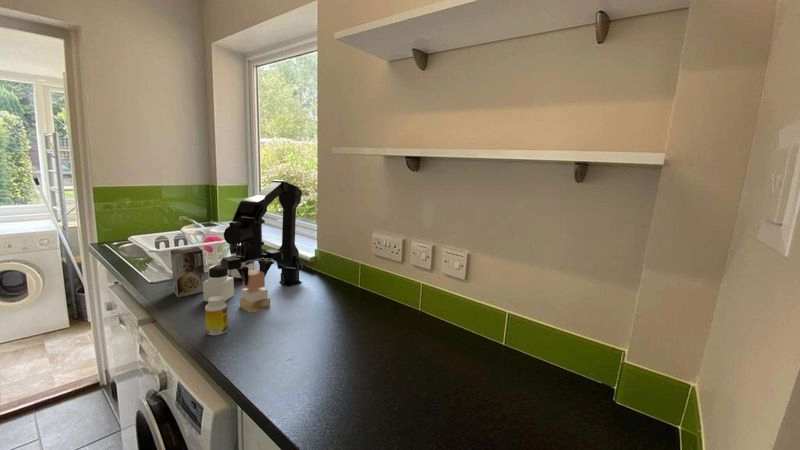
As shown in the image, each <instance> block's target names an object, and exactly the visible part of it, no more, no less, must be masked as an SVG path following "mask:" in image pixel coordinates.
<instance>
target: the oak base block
mask: <svg viewBox="0 0 800 450" xmlns="http://www.w3.org/2000/svg"><path fill="white" fill-rule="evenodd" d="M239 307H240V308H242V309H243V310H245V311H246V312H248V313H250V314H251V313H254V312H255V313H256V312H258V311H262V310H265V309H269V308H271V298H270V297H269V296H268V298H265V299H262V300H258V301H255V302H251V303H250V302H249V301H247V300H245V299H244V298H242V296H241V297H239Z"/></svg>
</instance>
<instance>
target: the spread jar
mask: <svg viewBox="0 0 800 450" xmlns="http://www.w3.org/2000/svg"><path fill="white" fill-rule="evenodd" d="M233 256H234V257H237V258H244V256H236V253H235V254H233ZM248 260H250V259H248ZM246 267H248V271H250V270H255V269H256V261H254V262H249V263H246ZM229 274H230V275H231V276H230V277H233V279H234V281H238V282H243V280H242V278H241V276H240V274H239V272H238V270H237V269H234V270H228V275H229Z"/></svg>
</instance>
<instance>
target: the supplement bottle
mask: <svg viewBox="0 0 800 450" xmlns="http://www.w3.org/2000/svg"><path fill="white" fill-rule="evenodd" d="M204 311H205V312H204V313H205V316H204V317H205V332H206V334H207V335H209V336H219V335H220V336H221V335H223V334H225V333H226V332H227V331H228V328H229V326H228V323H229V322H228V304H227V303H226V301H225V302H224V297H223V296H213V297H210V298H209V299H208V301H207V304H206V305H205V307H204Z"/></svg>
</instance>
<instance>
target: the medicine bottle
mask: <svg viewBox="0 0 800 450" xmlns="http://www.w3.org/2000/svg"><path fill="white" fill-rule="evenodd" d="M207 269H208V270H207V273H208V279H206V280H205V281H204V282H203V292H202V293H203V301H204V302H208V299H209V298H210V297H213V296H223V297H224V302H225V303H226V301H227V300H229V299H230V298H232V297H234V296H235V287H234V286H235V285H234V284H235V283H234V282H235V279H233V277H232V276H229V273H228V270H227V269H225V268H223V267H221V264H214V265H211V266H209V267H208V268H207Z"/></svg>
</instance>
